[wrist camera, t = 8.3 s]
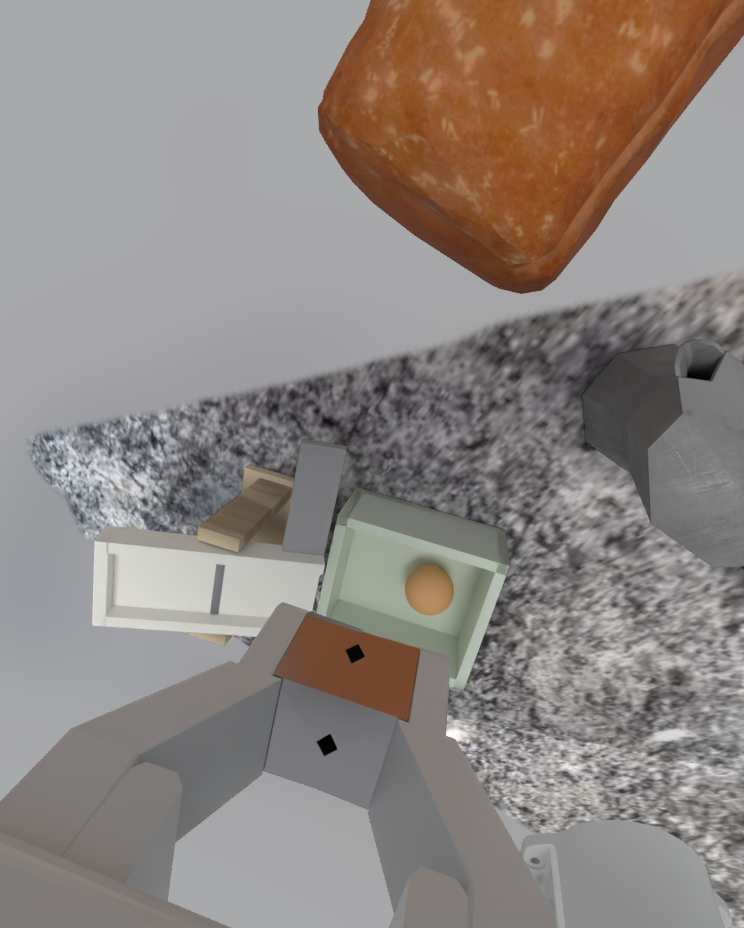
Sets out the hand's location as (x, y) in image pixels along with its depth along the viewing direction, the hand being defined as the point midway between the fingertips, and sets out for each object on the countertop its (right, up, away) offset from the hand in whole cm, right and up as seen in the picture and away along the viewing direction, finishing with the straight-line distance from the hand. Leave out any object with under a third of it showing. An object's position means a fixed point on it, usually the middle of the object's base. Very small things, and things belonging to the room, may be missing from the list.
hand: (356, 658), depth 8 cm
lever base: (-9, -2, +36) cm, 37 cm away
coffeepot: (+21, +7, +27) cm, 35 cm away
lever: (-10, -1, +26) cm, 28 cm away
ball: (+5, -7, +31) cm, 33 cm away
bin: (+4, -6, +34) cm, 35 cm away
